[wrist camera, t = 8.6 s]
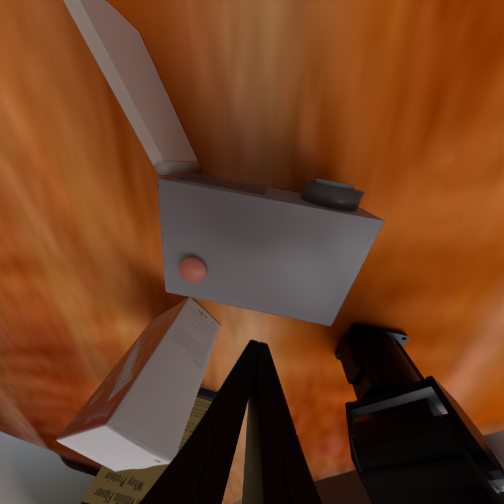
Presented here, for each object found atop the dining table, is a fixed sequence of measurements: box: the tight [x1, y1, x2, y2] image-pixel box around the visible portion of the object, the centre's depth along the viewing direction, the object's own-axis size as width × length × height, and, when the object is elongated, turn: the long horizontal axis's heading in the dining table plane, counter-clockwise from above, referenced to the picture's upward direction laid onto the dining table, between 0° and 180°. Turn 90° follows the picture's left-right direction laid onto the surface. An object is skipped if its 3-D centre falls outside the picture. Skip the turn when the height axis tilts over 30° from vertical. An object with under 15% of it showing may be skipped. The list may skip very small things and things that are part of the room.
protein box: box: [81, 388, 217, 504], centre depth 28 cm, size 10×16×16 cm
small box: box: [56, 297, 221, 471], centre depth 20 cm, size 8×6×13 cm
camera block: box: [157, 174, 384, 326], centre depth 15 cm, size 14×10×7 cm
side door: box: [63, 0, 201, 176], centre depth 12 cm, size 10×1×6 cm, turn 22°
